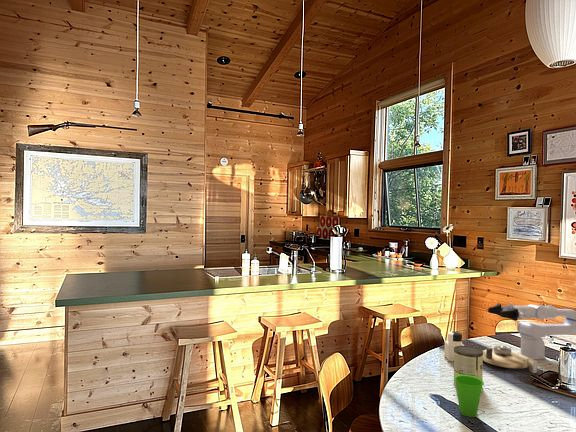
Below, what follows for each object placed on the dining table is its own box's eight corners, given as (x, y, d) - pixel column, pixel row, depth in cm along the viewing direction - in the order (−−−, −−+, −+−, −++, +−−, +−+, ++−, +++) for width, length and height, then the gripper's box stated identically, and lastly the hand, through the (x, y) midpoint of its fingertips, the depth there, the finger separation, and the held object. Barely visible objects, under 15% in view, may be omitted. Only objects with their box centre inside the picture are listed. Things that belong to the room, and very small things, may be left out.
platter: (506, 351, 195) (507, 339, 195) (541, 366, 175) (542, 353, 175) (470, 353, 190) (470, 342, 190) (501, 369, 171) (502, 356, 171)
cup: (448, 407, 139) (449, 374, 139) (474, 406, 140) (474, 374, 140) (462, 420, 130) (462, 385, 130) (489, 419, 131) (489, 385, 131)
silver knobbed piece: (524, 366, 178) (524, 354, 178) (538, 373, 171) (538, 359, 171) (518, 367, 178) (519, 354, 178) (532, 373, 170) (532, 360, 170)
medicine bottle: (460, 356, 190) (460, 330, 190) (465, 361, 183) (465, 335, 183) (444, 355, 191) (444, 330, 191) (448, 361, 184) (449, 334, 184)
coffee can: (452, 379, 163) (453, 344, 163) (480, 383, 160) (481, 347, 160) (453, 389, 154) (454, 352, 154) (484, 394, 150) (484, 355, 150)
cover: (503, 350, 191) (503, 343, 191) (514, 355, 184) (515, 348, 184) (490, 351, 190) (490, 344, 190) (501, 356, 183) (501, 349, 183)
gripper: (508, 300, 197) (484, 300, 194) (532, 306, 183) (506, 307, 180) (507, 314, 197) (483, 315, 194) (532, 322, 183) (506, 323, 180)
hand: (494, 312), depth 187 cm, fingers open, 7 cm apart
